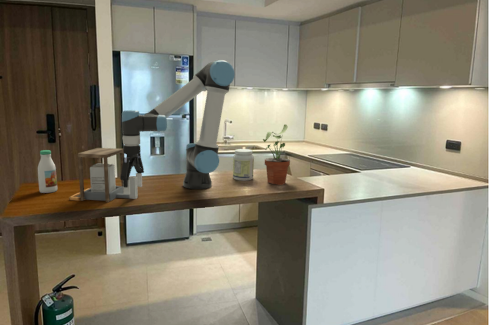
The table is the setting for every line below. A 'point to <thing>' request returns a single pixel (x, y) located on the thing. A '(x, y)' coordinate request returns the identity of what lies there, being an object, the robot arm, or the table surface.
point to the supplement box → (102, 177)
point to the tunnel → (98, 154)
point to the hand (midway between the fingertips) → (133, 190)
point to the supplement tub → (243, 164)
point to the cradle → (114, 192)
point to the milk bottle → (47, 173)
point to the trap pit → (76, 196)
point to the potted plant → (277, 162)
